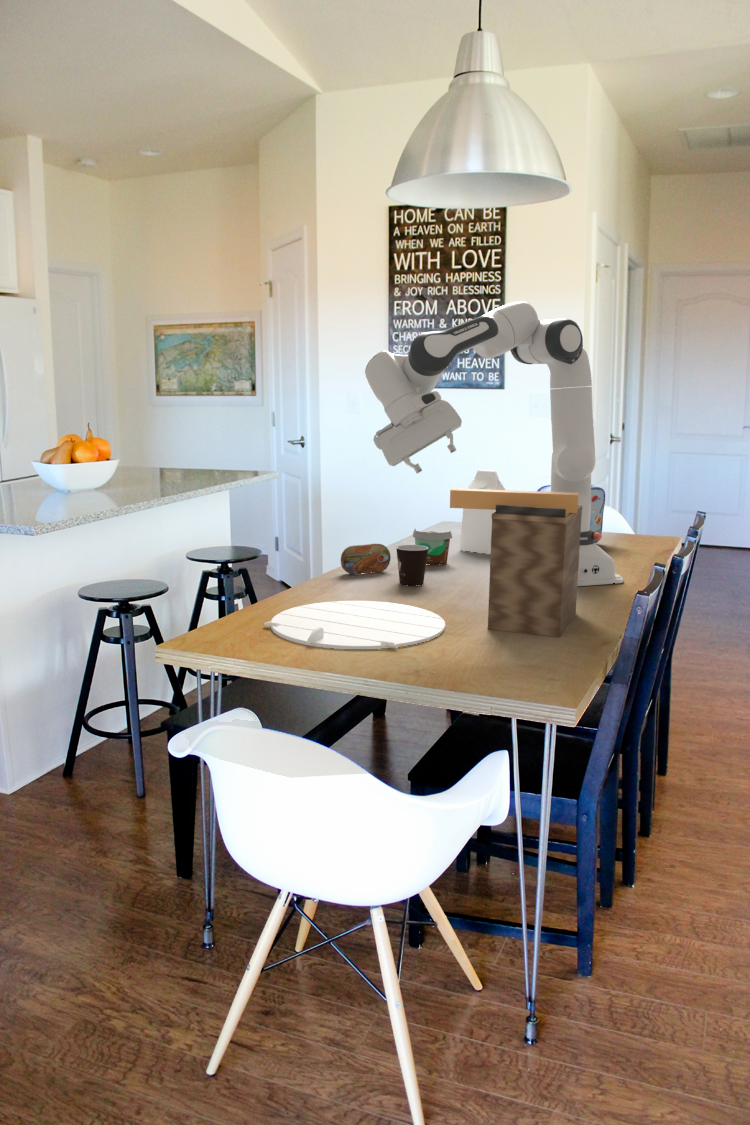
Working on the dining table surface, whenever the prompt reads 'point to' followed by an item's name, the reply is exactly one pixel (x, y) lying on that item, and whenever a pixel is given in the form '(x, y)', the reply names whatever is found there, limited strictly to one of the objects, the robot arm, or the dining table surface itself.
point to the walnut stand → (533, 569)
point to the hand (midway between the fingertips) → (436, 461)
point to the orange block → (511, 499)
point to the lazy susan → (357, 625)
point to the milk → (479, 516)
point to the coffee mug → (411, 564)
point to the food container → (434, 545)
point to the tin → (365, 558)
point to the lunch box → (596, 507)
